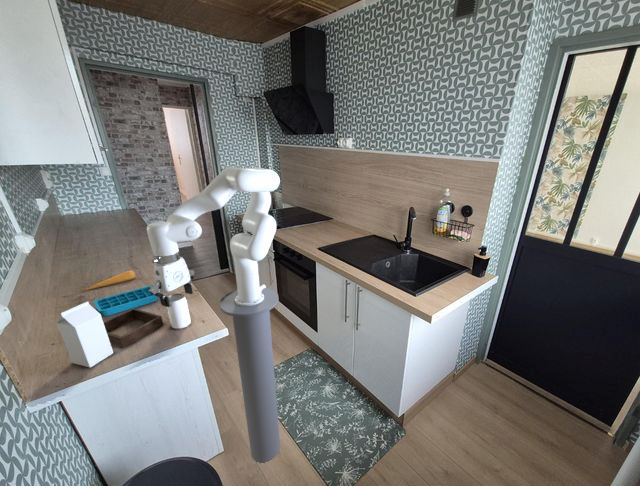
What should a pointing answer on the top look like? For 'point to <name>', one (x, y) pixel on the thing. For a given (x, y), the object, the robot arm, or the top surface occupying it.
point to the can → (178, 311)
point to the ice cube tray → (125, 301)
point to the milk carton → (84, 335)
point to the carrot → (115, 279)
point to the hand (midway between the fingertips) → (178, 299)
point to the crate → (127, 339)
